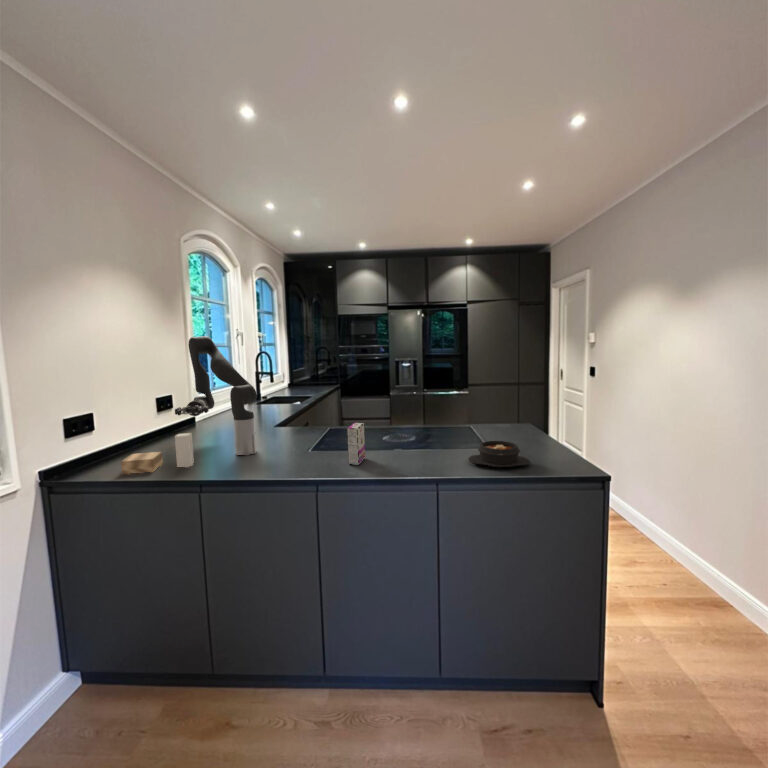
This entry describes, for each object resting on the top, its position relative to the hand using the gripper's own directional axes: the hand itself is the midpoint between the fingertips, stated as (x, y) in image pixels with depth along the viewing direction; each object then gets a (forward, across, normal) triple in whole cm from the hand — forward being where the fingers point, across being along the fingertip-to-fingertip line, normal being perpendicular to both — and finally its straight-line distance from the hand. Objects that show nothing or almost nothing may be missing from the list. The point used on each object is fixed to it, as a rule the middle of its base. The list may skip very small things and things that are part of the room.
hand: (188, 412), depth 186 cm
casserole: (+49, +131, +22) cm, 142 cm away
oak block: (+11, -17, +22) cm, 30 cm away
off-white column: (+11, 0, +22) cm, 25 cm away
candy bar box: (+28, +74, +22) cm, 82 cm away
